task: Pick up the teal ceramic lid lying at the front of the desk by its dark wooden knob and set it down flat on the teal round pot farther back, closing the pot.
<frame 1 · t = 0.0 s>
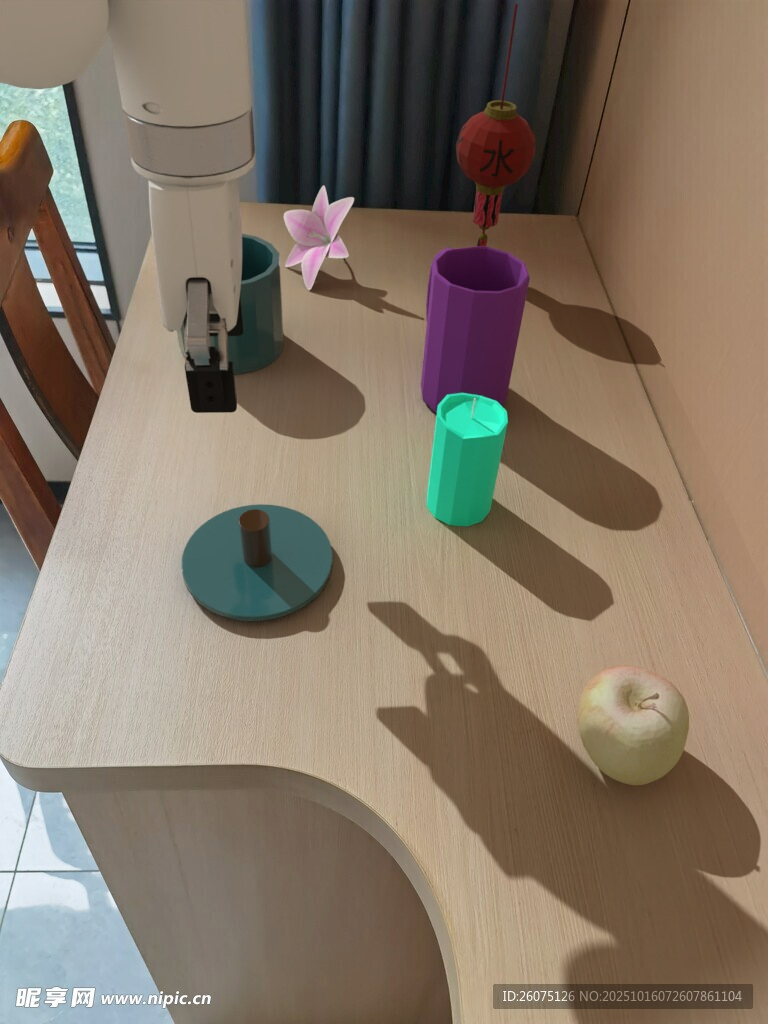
hand: (219, 370, 61), 15 cm above the table, tool pointing down, fingers open, 9 cm apart
fruit: (618, 749, 57), on the table
mug: (451, 381, 87), on the table
lantern: (478, 268, 105), on the table
teal round pot: (232, 344, 90), on the table
bowl lid: (258, 561, 67), point 1 cm above the table
lily: (318, 271, 103), on the table
candle: (458, 504, 74), on the table
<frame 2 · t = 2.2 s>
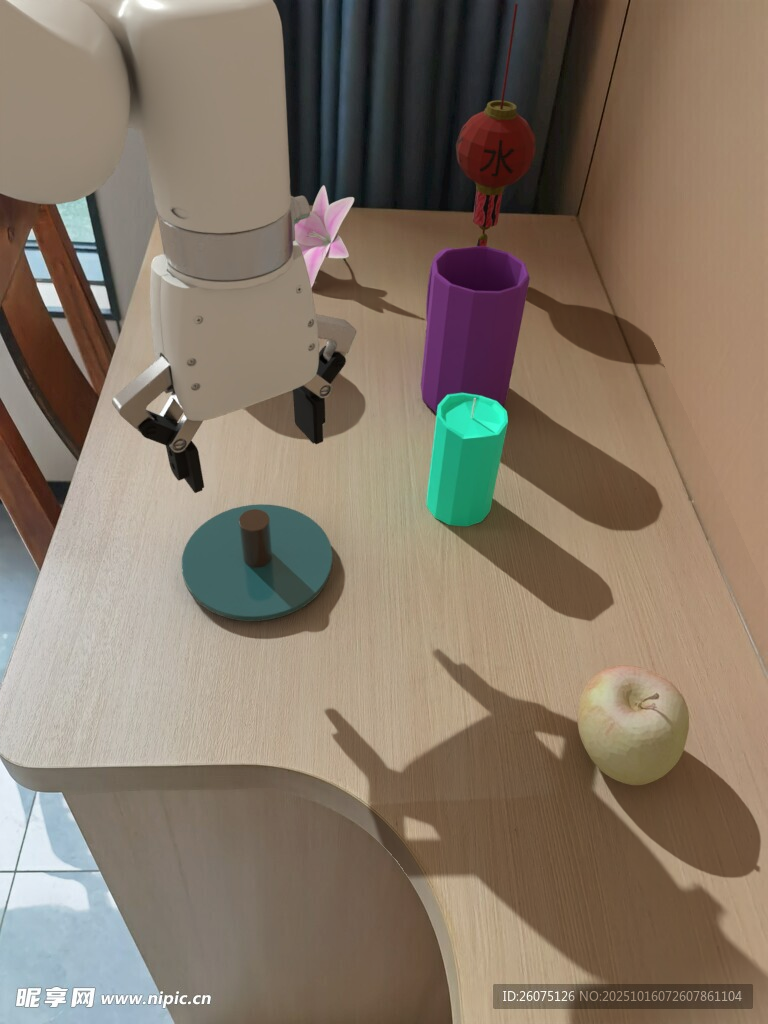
hand: (251, 456, 59), 12 cm above the table, tool pointing down, fingers open, 9 cm apart
nothing on the table moved.
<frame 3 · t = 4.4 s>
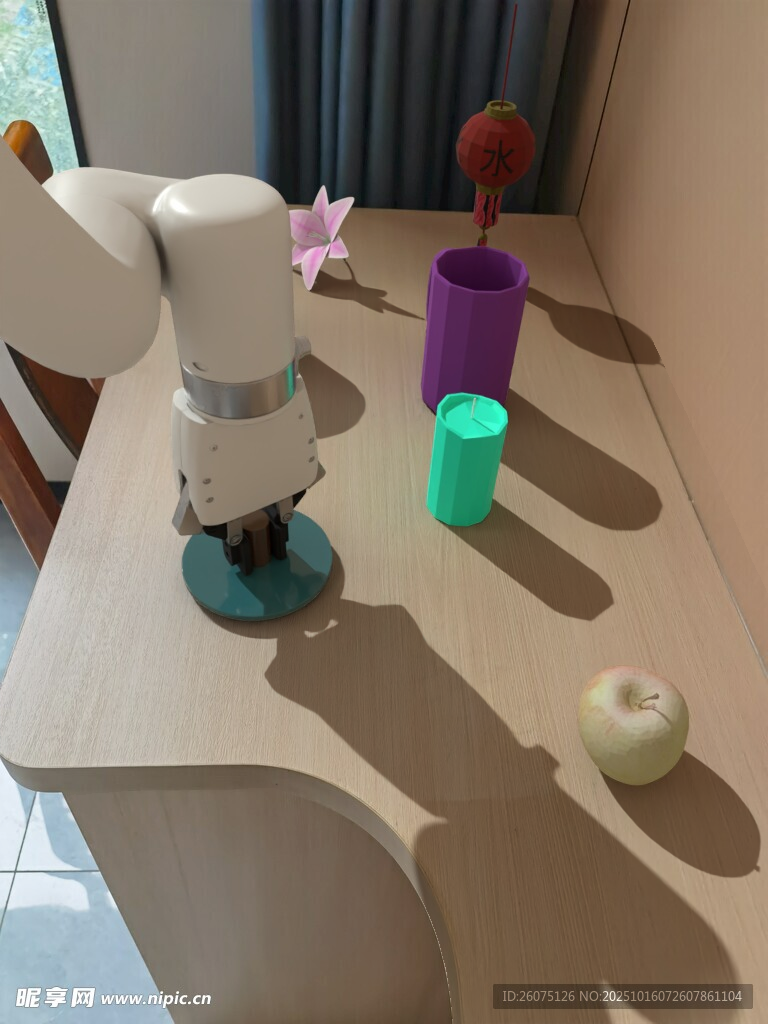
hand: (257, 555, 66), 1 cm above the table, tool pointing down, fingers closed on bowl lid, 2 cm apart
bowl lid: (258, 561, 67), point 1 cm above the table, touching gripper
everything else where it was.
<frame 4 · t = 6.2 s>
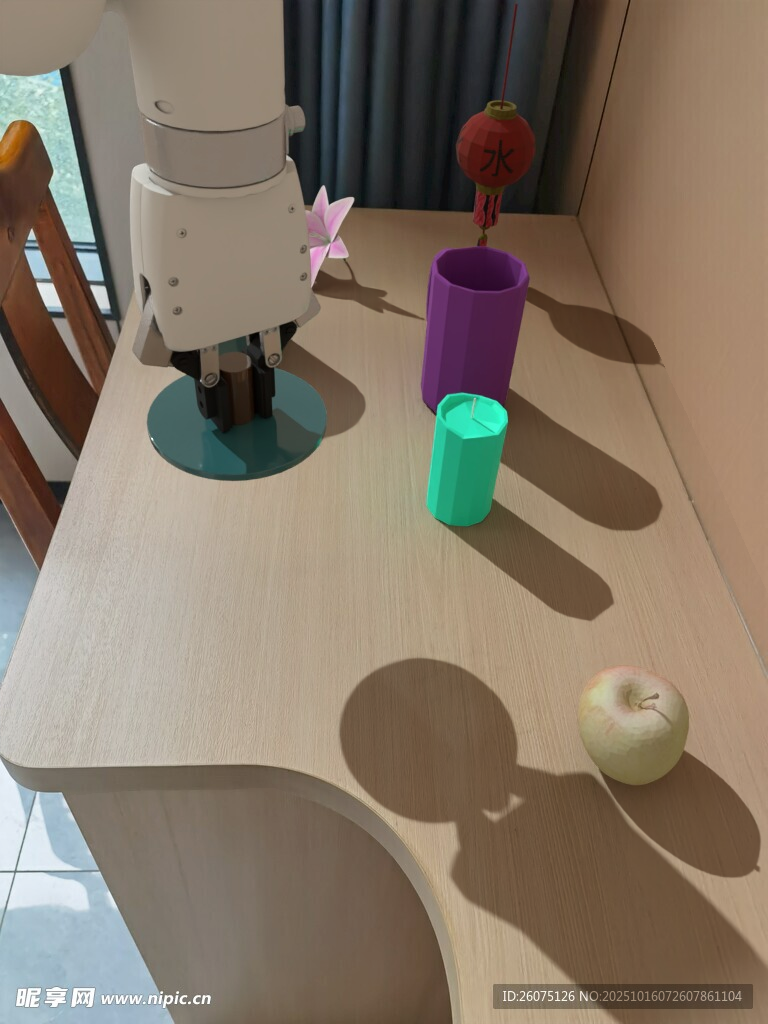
hand: (237, 412, 56), 16 cm above the table, tool pointing down, fingers closed on bowl lid, 2 cm apart
bowl lid: (238, 421, 56), point 15 cm above the table, touching gripper
everything else where it was.
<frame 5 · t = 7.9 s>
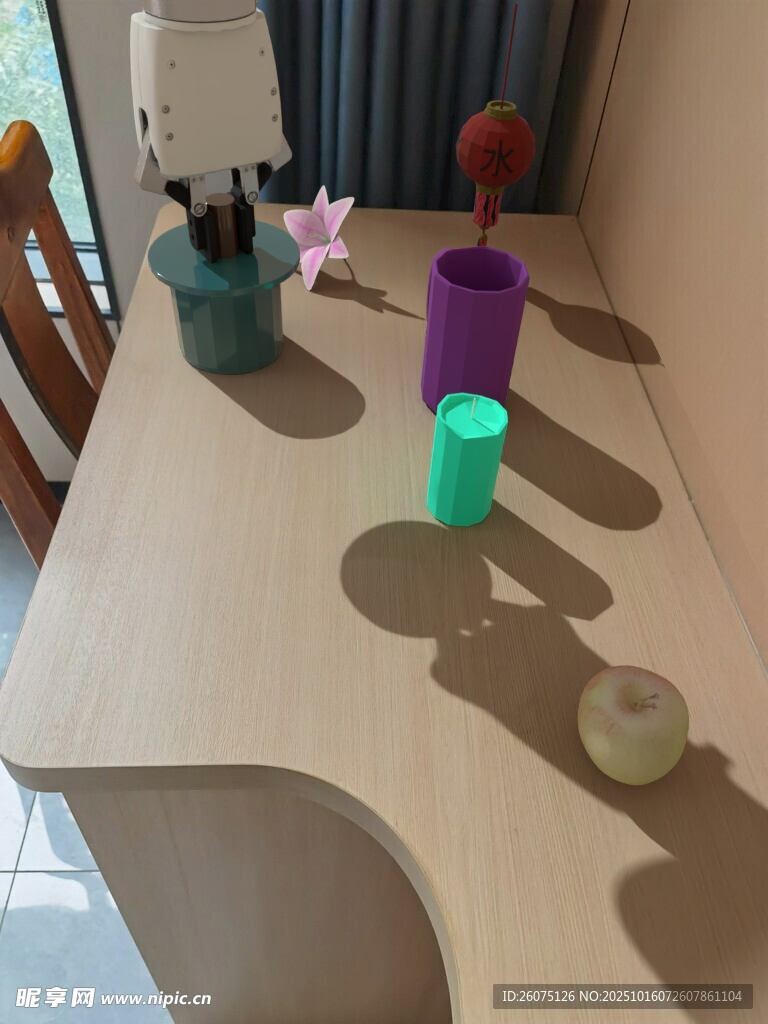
hand: (224, 249, 66), 19 cm above the table, tool pointing down, fingers closed on bowl lid, 2 cm apart
bowl lid: (225, 258, 67), point 18 cm above the table, touching gripper
everything else where it was.
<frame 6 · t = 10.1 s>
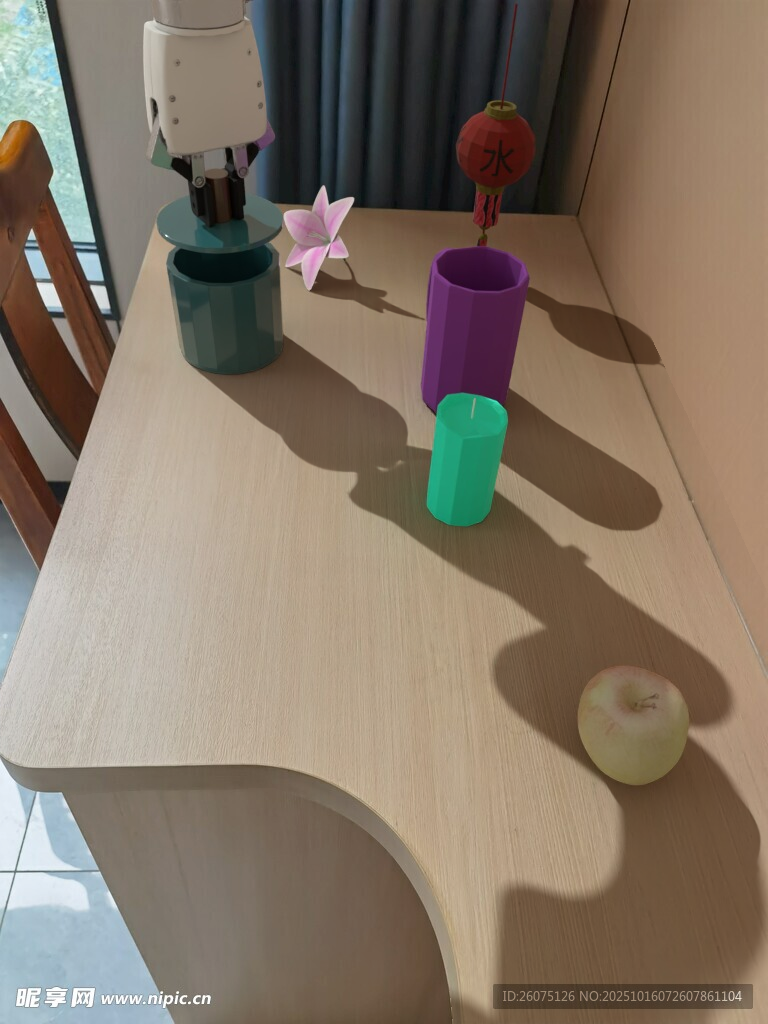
hand: (219, 216, 79), 15 cm above the table, tool pointing down, fingers closed on bowl lid, 2 cm apart
bowl lid: (220, 223, 80), point 14 cm above the table, touching gripper
everything else where it was.
when the fingers open (11 cm above the table, at t = 11.3 s): bowl lid stays where it is, resting on teal round pot.
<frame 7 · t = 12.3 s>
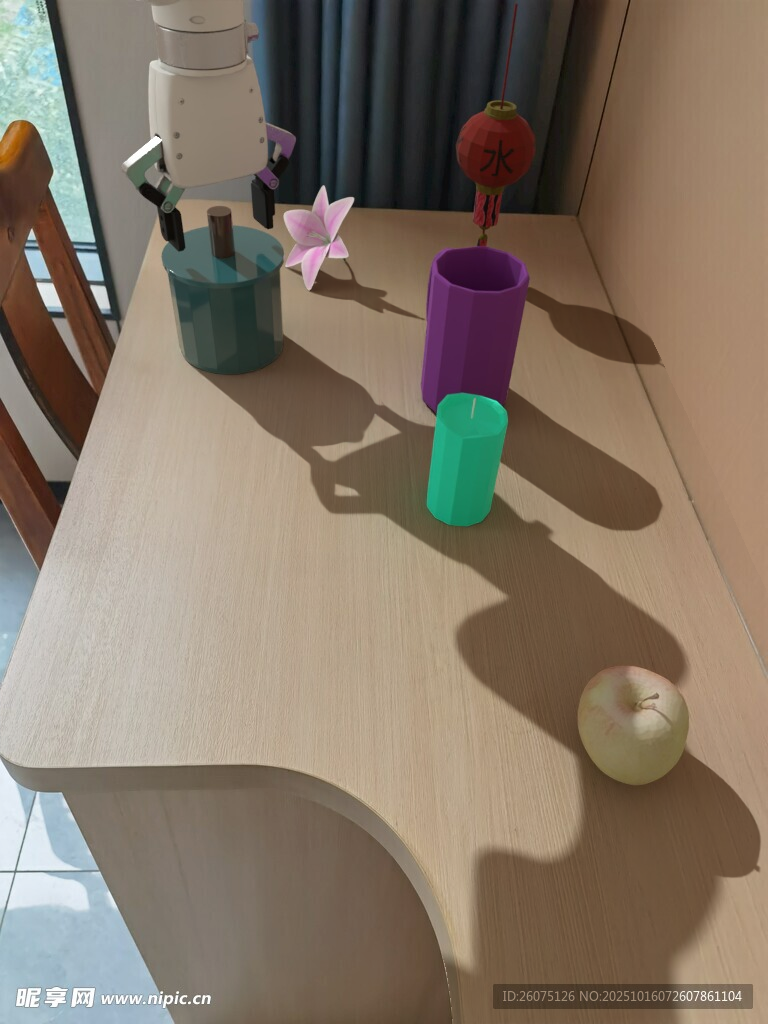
hand: (220, 234, 81), 13 cm above the table, tool pointing down, fingers open, 9 cm apart
bowl lid: (223, 258, 83), point 10 cm above the table, touching teal round pot
everything else where it was.
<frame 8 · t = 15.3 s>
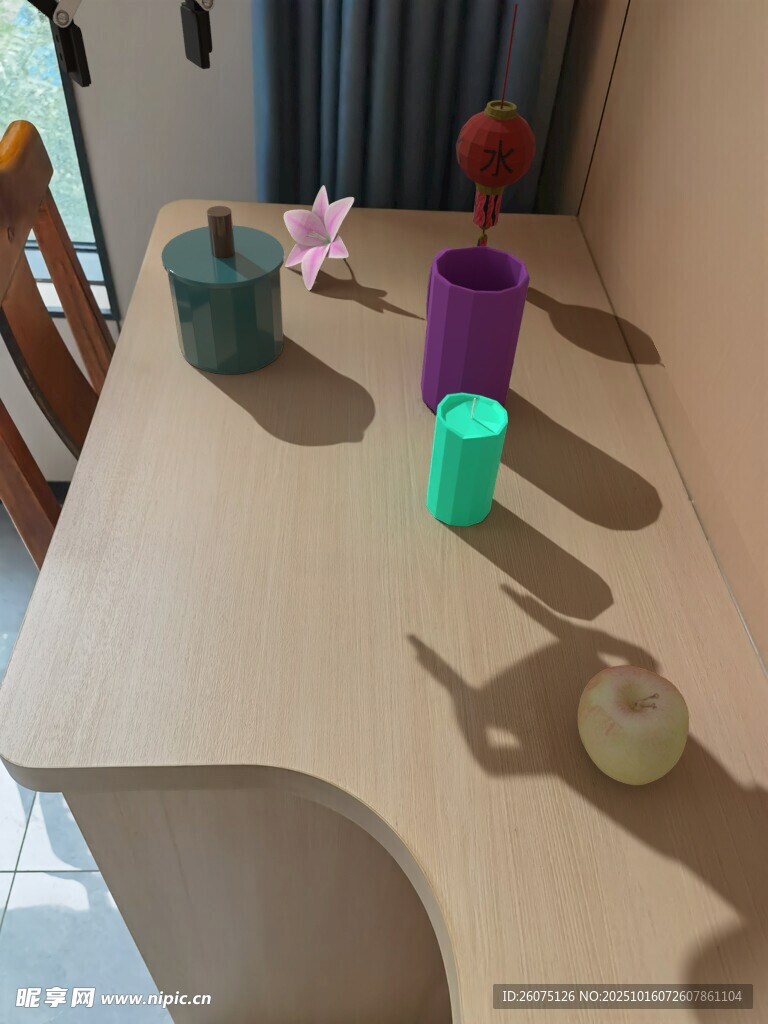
hand: (141, 72, 63), 30 cm above the table, tool pointing down, fingers open, 9 cm apart
nothing on the table moved.
at the end: bowl lid 0.0 cm off-centre on the teal round pot, point 10.5 cm above the teal round pot's base; bowl lid tilted 0°; the gripper is holding nothing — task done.
